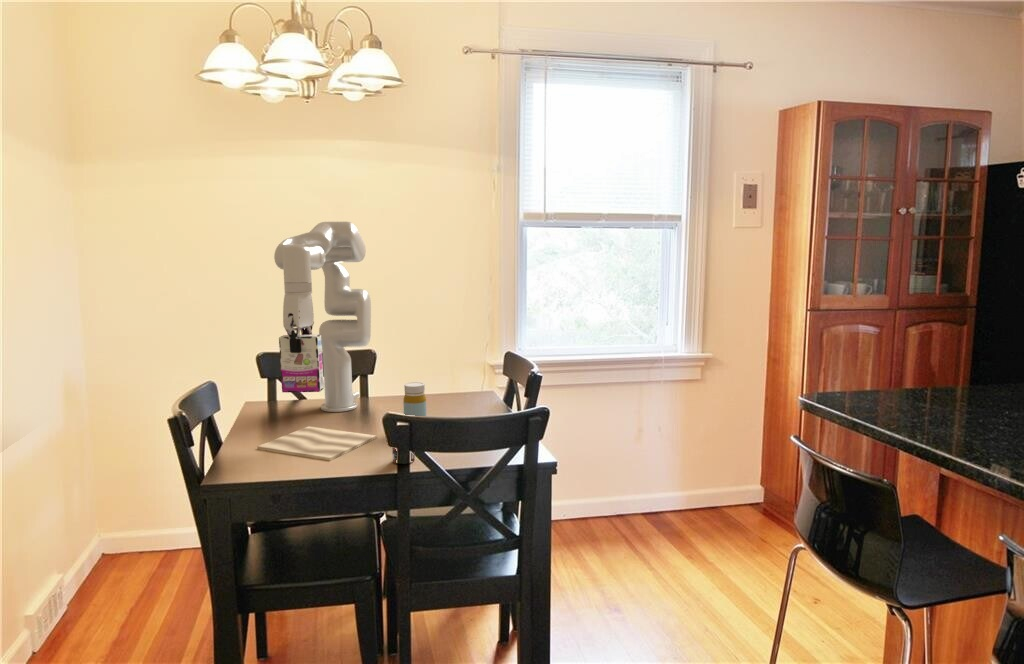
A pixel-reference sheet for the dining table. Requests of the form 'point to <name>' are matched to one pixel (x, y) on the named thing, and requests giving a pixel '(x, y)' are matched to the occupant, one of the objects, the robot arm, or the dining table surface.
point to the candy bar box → (302, 365)
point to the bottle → (414, 399)
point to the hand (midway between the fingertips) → (301, 350)
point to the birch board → (317, 443)
